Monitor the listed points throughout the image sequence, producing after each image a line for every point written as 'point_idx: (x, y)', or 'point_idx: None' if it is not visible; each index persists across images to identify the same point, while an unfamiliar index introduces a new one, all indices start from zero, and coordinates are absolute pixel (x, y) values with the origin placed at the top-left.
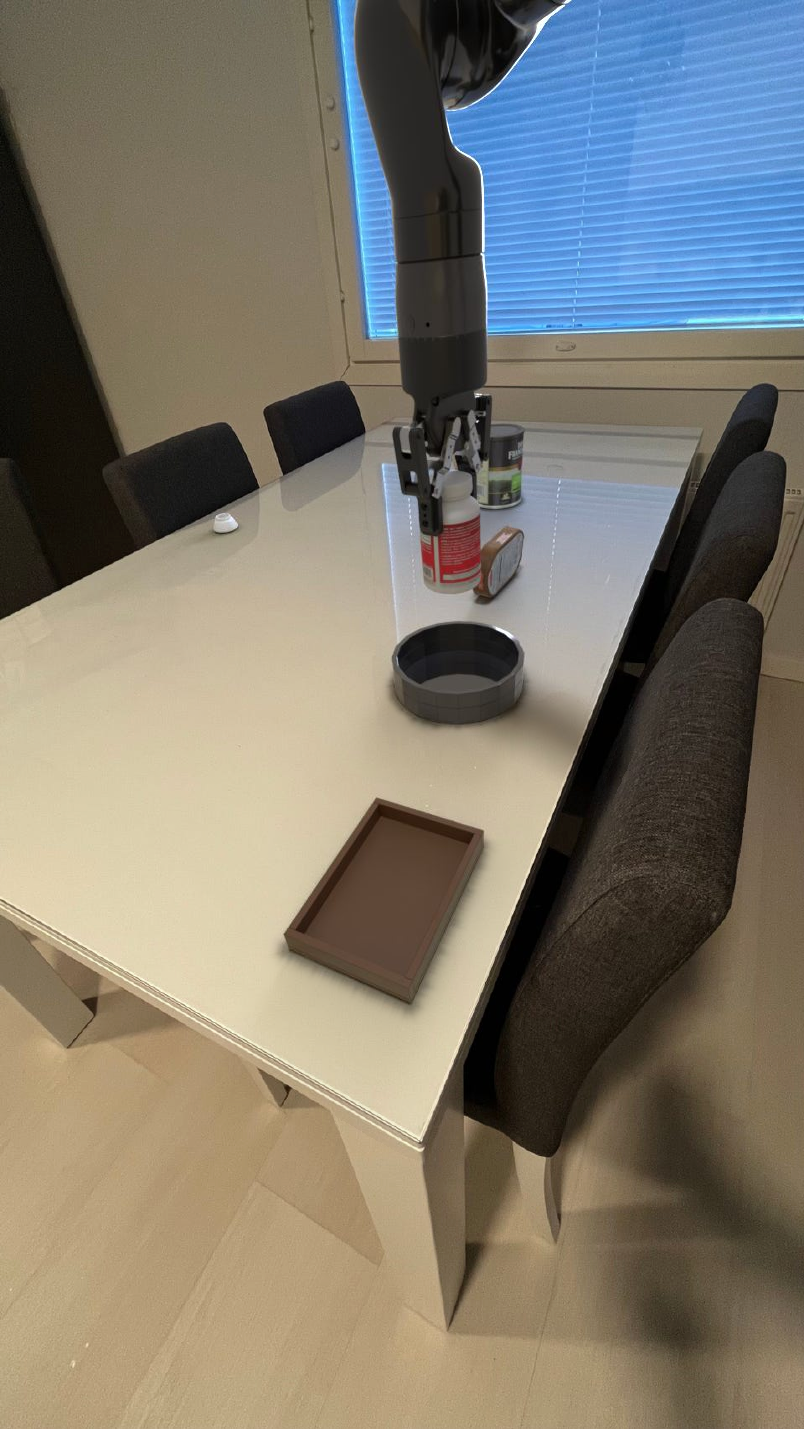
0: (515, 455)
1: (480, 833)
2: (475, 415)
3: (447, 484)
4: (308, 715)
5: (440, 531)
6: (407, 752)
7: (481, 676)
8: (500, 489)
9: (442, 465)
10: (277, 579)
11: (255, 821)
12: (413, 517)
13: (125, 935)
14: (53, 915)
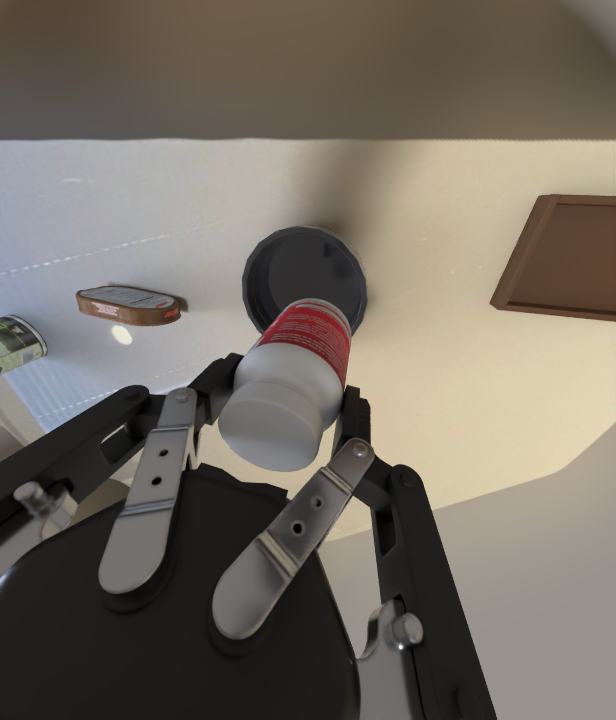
0: None
1: (558, 196)
2: (55, 506)
3: (305, 437)
4: (376, 386)
5: (357, 389)
6: (410, 304)
7: (294, 272)
8: (12, 338)
9: (347, 498)
10: (229, 450)
11: (498, 381)
12: (99, 393)
13: (604, 414)
14: (578, 450)
